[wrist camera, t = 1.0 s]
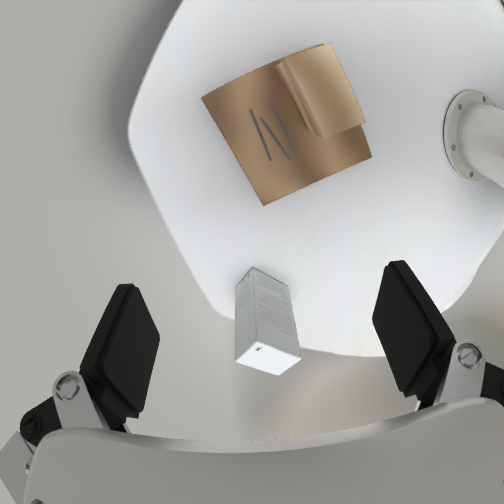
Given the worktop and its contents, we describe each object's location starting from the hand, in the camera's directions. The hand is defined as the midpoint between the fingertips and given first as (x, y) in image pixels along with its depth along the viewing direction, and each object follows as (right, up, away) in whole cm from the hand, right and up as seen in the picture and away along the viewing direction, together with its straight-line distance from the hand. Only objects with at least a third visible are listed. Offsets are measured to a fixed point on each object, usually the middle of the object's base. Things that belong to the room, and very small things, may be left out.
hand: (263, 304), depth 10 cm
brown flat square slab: (+4, +15, +16) cm, 22 cm away
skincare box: (+1, -3, +27) cm, 27 cm away
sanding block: (+5, +17, +12) cm, 22 cm away
